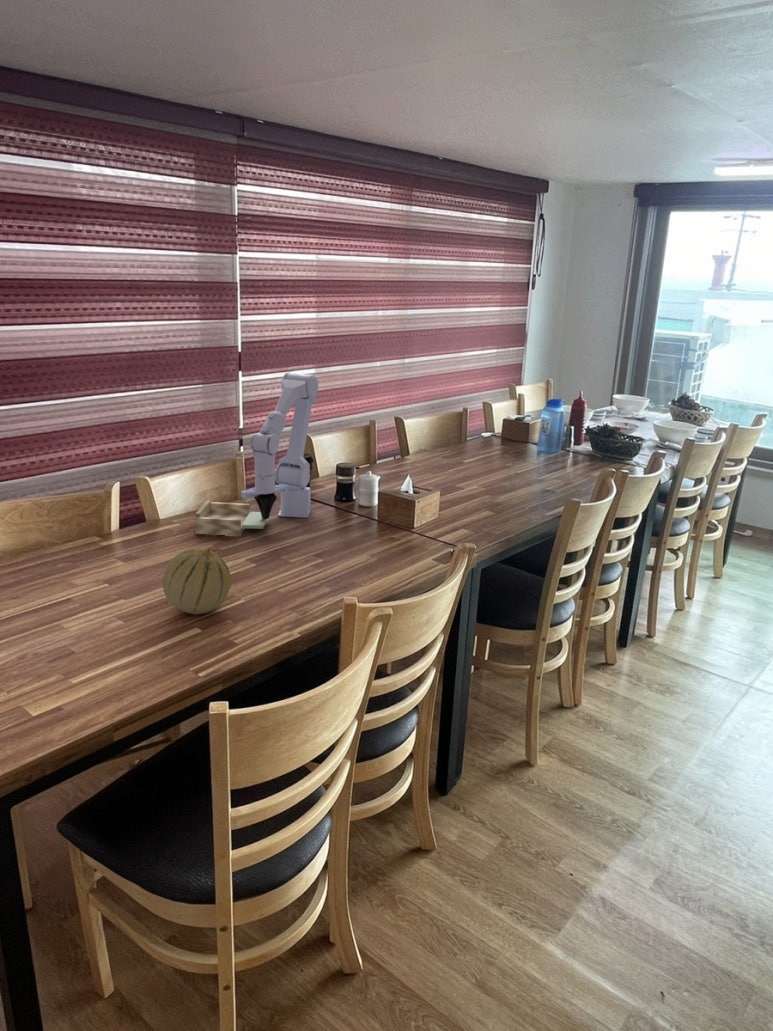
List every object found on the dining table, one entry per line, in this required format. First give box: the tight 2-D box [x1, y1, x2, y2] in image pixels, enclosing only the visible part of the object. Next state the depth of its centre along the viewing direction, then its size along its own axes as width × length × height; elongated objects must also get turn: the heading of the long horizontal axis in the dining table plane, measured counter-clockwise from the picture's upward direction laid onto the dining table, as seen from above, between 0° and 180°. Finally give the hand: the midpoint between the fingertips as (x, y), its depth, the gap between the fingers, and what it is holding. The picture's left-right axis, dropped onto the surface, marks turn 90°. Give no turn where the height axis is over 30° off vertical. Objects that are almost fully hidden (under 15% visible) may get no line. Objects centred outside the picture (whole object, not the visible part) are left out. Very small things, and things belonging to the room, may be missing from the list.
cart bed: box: [194, 499, 251, 537], centre depth 216 cm, size 13×15×6 cm
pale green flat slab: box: [242, 511, 268, 530], centre depth 216 cm, size 1×12×6 cm
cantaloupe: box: [162, 546, 232, 615], centre depth 162 cm, size 15×15×15 cm
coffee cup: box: [289, 452, 315, 489], centre depth 251 cm, size 9×8×13 cm
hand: (265, 517), depth 216 cm, fingers closed
